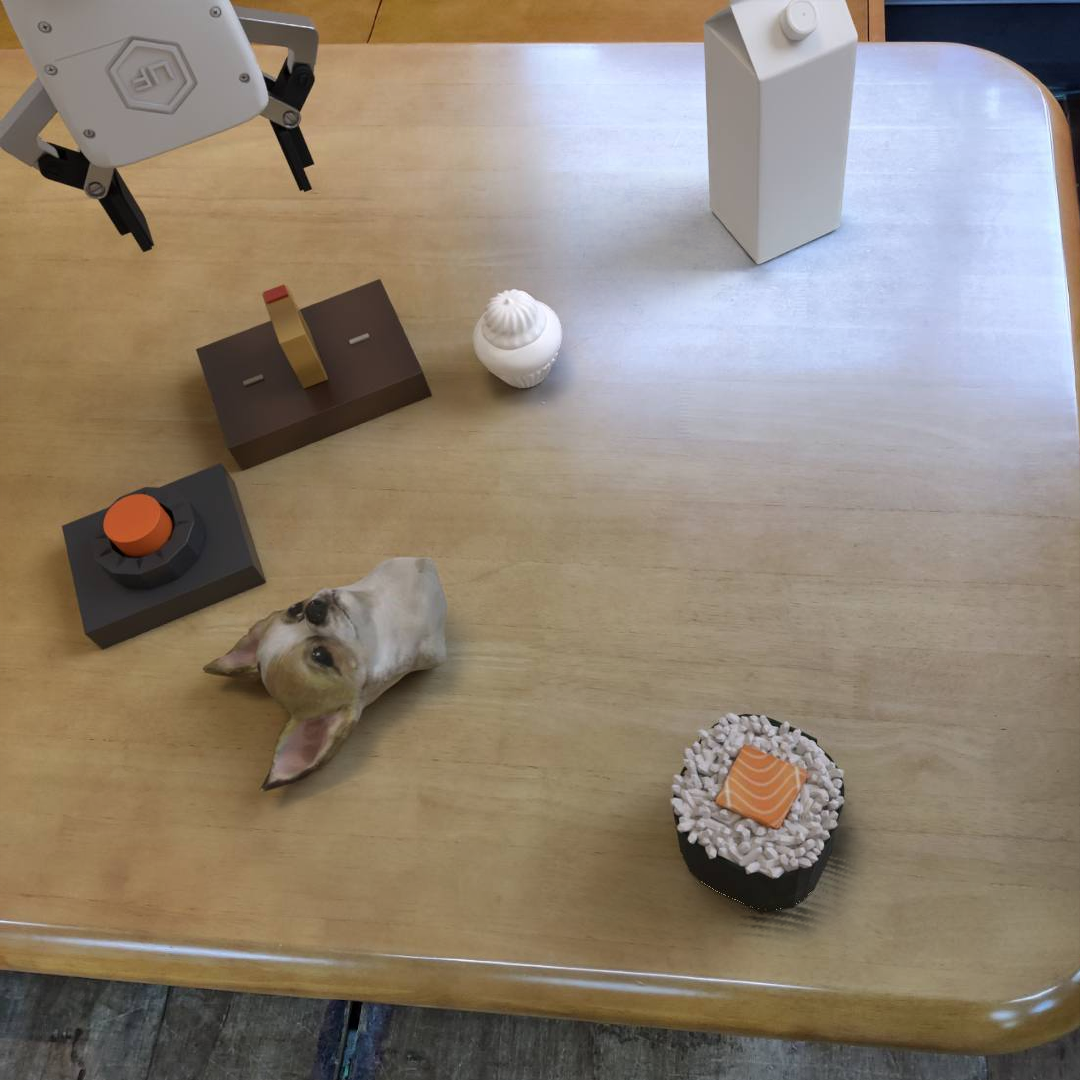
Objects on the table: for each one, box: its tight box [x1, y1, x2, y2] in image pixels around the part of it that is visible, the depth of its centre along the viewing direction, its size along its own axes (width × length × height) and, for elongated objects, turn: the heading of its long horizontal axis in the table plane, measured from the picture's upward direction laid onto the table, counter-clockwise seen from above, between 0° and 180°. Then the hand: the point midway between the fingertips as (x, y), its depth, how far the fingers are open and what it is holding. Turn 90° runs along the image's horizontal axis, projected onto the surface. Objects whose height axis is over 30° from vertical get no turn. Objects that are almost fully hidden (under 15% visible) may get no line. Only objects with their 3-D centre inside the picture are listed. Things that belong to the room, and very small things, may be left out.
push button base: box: [61, 462, 267, 651], centre depth 71 cm, size 11×9×4 cm
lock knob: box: [261, 284, 328, 389], centre depth 75 cm, size 5×2×5 cm, turn 23°
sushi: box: [669, 712, 845, 913], centre depth 57 cm, size 8×8×8 cm
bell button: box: [103, 494, 173, 557], centre depth 69 cm, size 4×4×2 cm
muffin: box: [472, 288, 563, 389], centre depth 75 cm, size 6×6×7 cm
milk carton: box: [703, 0, 859, 265], centre depth 74 cm, size 7×7×19 cm
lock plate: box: [195, 278, 432, 472], centre depth 78 cm, size 14×10×3 cm
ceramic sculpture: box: [202, 555, 448, 793], centre depth 64 cm, size 11×9×15 cm
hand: (223, 206), depth 65 cm, fingers open, 9 cm apart
